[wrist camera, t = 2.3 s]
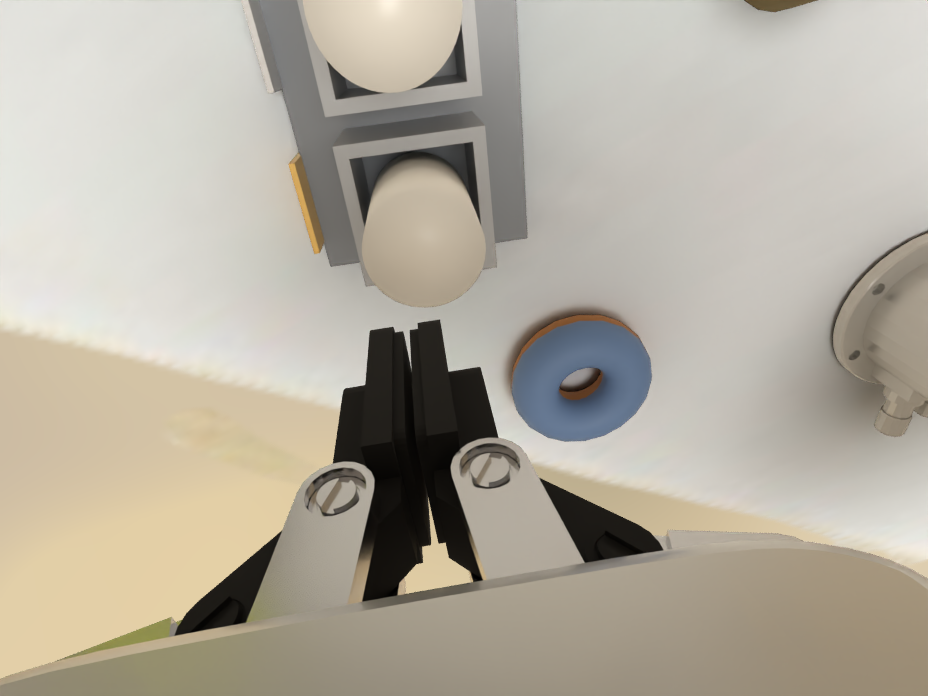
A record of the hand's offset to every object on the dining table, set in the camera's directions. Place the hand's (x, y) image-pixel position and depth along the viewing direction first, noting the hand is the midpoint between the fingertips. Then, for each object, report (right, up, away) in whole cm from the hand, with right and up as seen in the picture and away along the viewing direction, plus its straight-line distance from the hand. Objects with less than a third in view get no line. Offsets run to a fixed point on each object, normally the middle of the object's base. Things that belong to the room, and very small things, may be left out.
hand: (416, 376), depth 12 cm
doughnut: (+9, -1, +25) cm, 27 cm away
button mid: (-2, +15, +9) cm, 17 cm away
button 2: (-1, +8, +13) cm, 16 cm away
